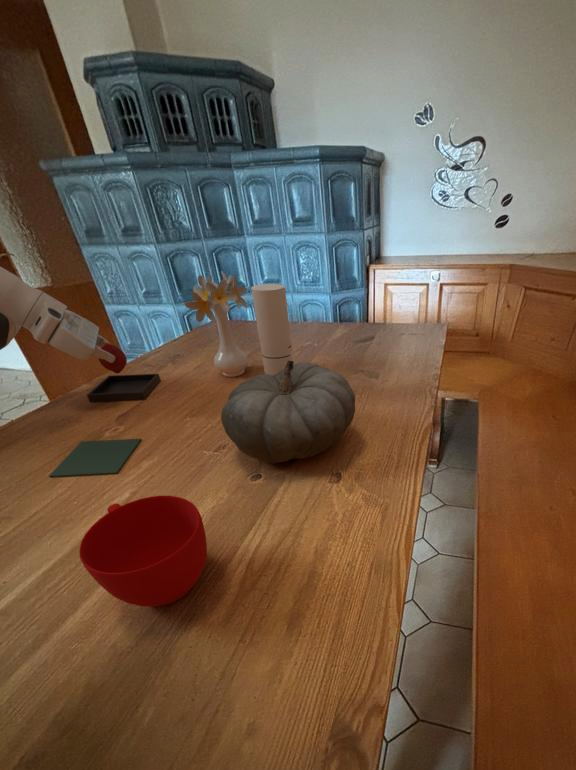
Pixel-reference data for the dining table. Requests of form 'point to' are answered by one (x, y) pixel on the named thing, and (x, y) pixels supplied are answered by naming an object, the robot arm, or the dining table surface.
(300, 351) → the dining table surface
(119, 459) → the mat
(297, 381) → the gourd
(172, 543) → the ceramic cup
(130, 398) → the tray
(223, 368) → the flower vase
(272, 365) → the cylindrical container
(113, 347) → the onion
